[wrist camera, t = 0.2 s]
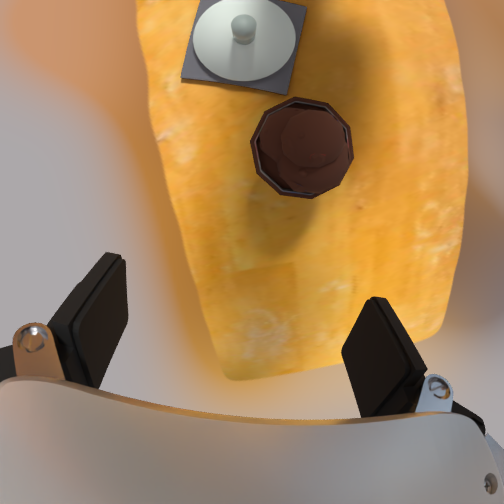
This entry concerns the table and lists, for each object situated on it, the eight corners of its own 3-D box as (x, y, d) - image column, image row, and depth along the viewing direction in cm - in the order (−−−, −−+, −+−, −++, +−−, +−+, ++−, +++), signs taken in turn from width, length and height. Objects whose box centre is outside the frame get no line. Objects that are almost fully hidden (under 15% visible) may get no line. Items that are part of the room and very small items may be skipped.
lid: (206, -7, 25) (200, -24, 20) (302, 8, 27) (311, -7, 21) (184, 74, 31) (174, 68, 26) (283, 90, 32) (290, 86, 27)
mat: (204, -9, 25) (203, -10, 25) (306, 8, 27) (307, 7, 26) (181, 78, 32) (180, 77, 31) (285, 95, 33) (286, 95, 33)
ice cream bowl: (234, 126, 35) (226, 133, 22) (308, 89, 33) (345, 76, 19) (272, 192, 39) (286, 236, 26) (342, 156, 37) (391, 183, 24)
